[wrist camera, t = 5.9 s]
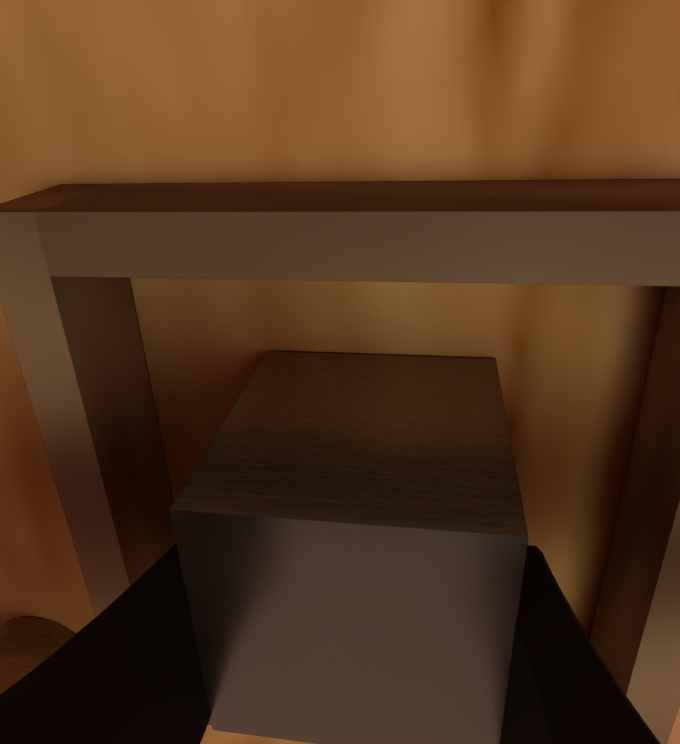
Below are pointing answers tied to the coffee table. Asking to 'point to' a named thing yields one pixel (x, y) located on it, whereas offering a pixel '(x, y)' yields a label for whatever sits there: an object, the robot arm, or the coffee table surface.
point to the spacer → (27, 646)
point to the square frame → (334, 263)
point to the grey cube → (357, 552)
